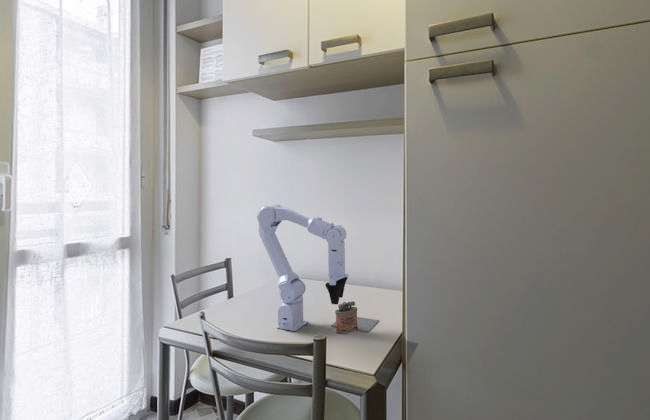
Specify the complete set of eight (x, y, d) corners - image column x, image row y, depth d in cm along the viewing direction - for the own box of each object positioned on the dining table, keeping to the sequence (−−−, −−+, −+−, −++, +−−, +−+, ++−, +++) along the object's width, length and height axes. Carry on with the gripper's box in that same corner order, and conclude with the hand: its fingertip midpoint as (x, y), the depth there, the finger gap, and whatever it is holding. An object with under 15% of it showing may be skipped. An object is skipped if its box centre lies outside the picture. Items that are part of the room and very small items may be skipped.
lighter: (338, 335, 124) (337, 306, 122) (334, 331, 127) (333, 303, 125) (359, 330, 127) (358, 302, 126) (355, 326, 130) (354, 298, 129)
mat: (368, 332, 125) (368, 331, 125) (330, 326, 131) (330, 325, 131) (378, 320, 136) (378, 320, 136) (343, 315, 142) (343, 314, 142)
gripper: (344, 266, 118) (344, 307, 119) (351, 257, 132) (352, 295, 133) (322, 265, 120) (323, 306, 121) (332, 257, 134) (333, 294, 135)
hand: (337, 300), depth 127 cm, fingers open, 7 cm apart
